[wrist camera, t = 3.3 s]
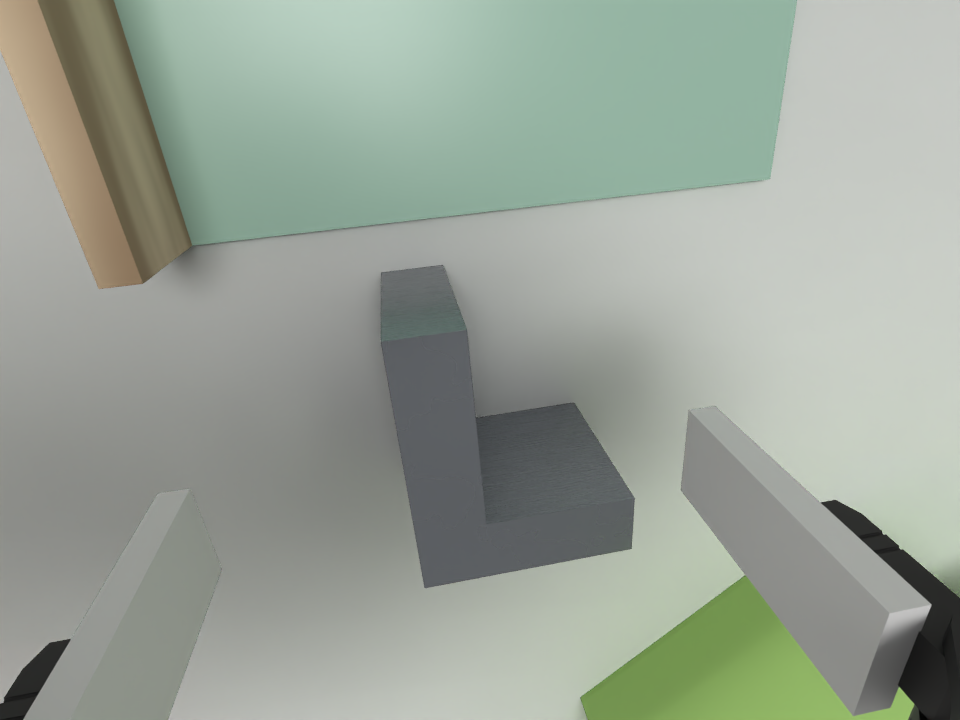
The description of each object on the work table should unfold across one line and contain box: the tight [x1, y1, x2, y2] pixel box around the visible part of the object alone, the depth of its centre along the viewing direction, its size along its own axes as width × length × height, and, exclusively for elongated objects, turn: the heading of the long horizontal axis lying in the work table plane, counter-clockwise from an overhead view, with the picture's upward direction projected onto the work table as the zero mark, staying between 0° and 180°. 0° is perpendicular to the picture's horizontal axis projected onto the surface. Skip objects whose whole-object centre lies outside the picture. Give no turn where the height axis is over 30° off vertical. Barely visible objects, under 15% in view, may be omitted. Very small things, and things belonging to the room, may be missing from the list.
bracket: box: [381, 265, 635, 588], centre depth 21 cm, size 8×10×7 cm
